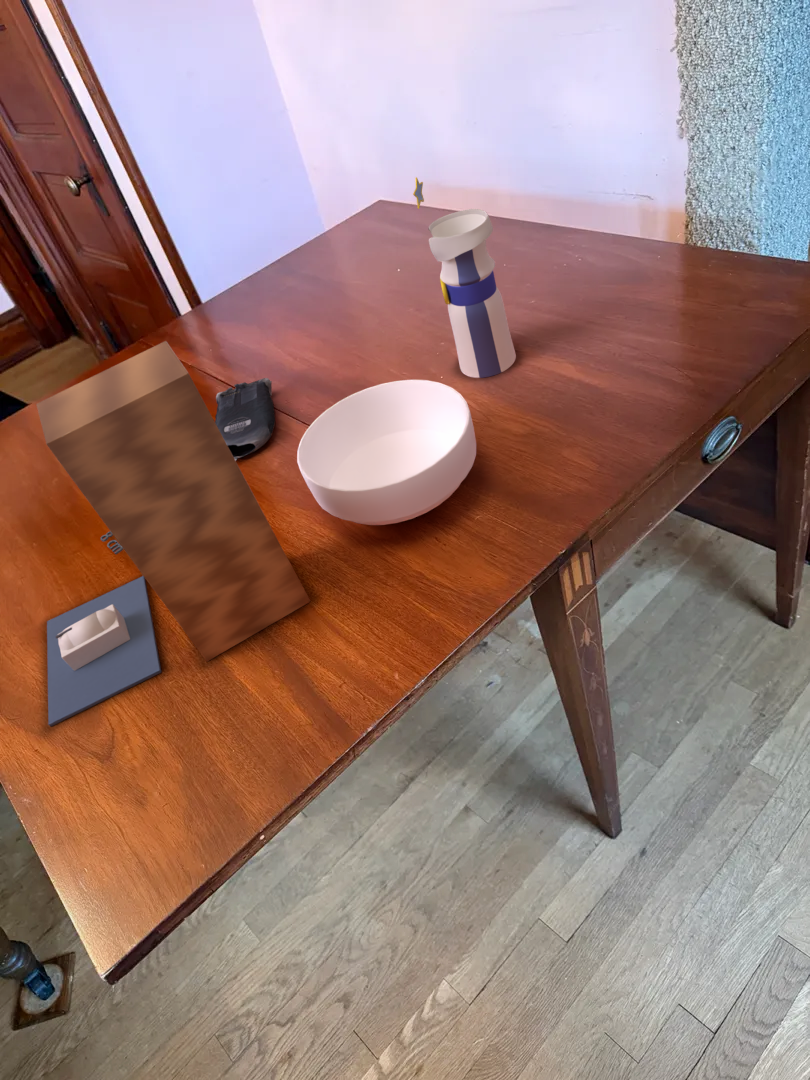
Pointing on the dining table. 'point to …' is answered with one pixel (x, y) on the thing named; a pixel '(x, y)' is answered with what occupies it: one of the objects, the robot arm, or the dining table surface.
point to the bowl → (389, 451)
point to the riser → (173, 497)
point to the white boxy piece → (92, 637)
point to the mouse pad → (110, 669)
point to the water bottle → (471, 291)
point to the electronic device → (246, 416)
